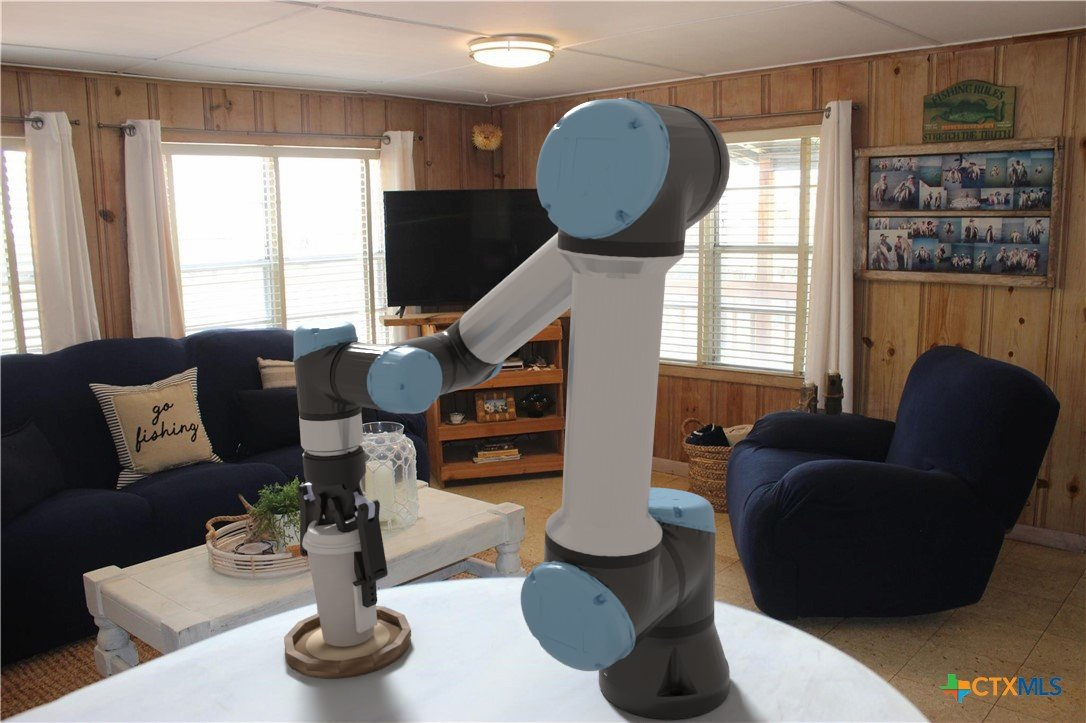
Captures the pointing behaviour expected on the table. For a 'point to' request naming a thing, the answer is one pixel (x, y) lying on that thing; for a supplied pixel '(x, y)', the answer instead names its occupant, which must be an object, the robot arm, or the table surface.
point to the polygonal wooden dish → (347, 647)
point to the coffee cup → (335, 582)
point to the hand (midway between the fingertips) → (346, 618)
